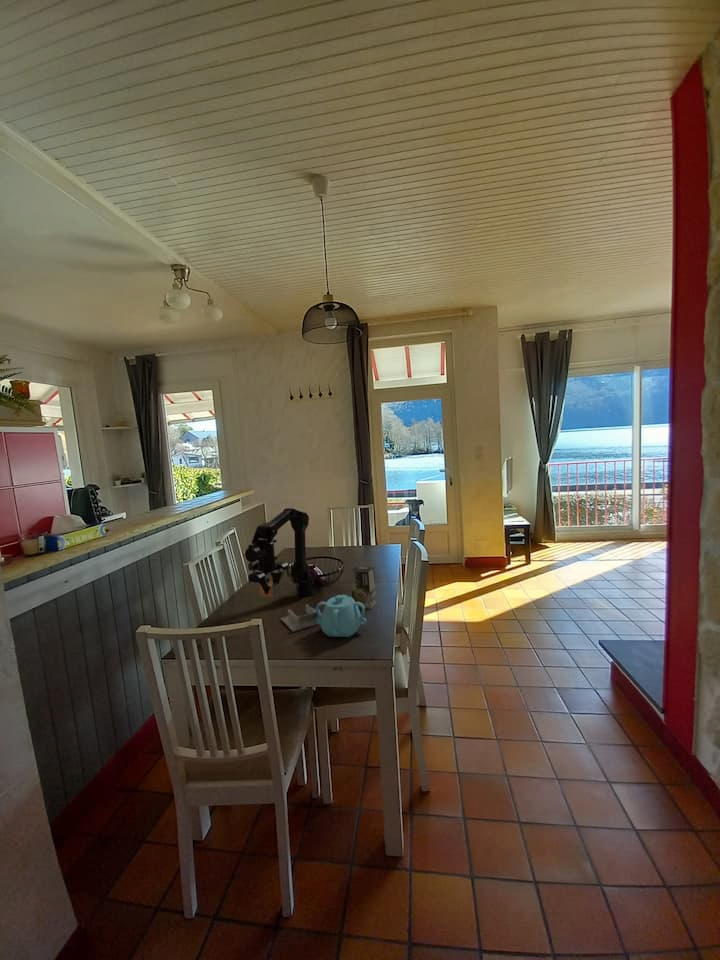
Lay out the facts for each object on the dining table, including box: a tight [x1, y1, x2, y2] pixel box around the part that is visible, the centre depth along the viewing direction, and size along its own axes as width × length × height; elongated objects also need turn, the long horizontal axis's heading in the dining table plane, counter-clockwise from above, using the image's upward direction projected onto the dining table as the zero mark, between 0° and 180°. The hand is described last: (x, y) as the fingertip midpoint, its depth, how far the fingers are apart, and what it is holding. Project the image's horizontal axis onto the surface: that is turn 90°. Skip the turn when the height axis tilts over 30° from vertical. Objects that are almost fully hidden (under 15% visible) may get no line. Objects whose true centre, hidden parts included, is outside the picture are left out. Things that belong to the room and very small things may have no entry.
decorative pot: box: [315, 594, 368, 638], centre depth 145 cm, size 16×16×14 cm
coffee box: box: [349, 566, 377, 610], centre depth 167 cm, size 9×6×16 cm
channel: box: [280, 604, 322, 633], centre depth 156 cm, size 15×13×5 cm
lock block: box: [259, 580, 283, 598], centre depth 162 cm, size 5×7×4 cm
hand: (270, 591), depth 162 cm, fingers closed on lock block, 5 cm apart
